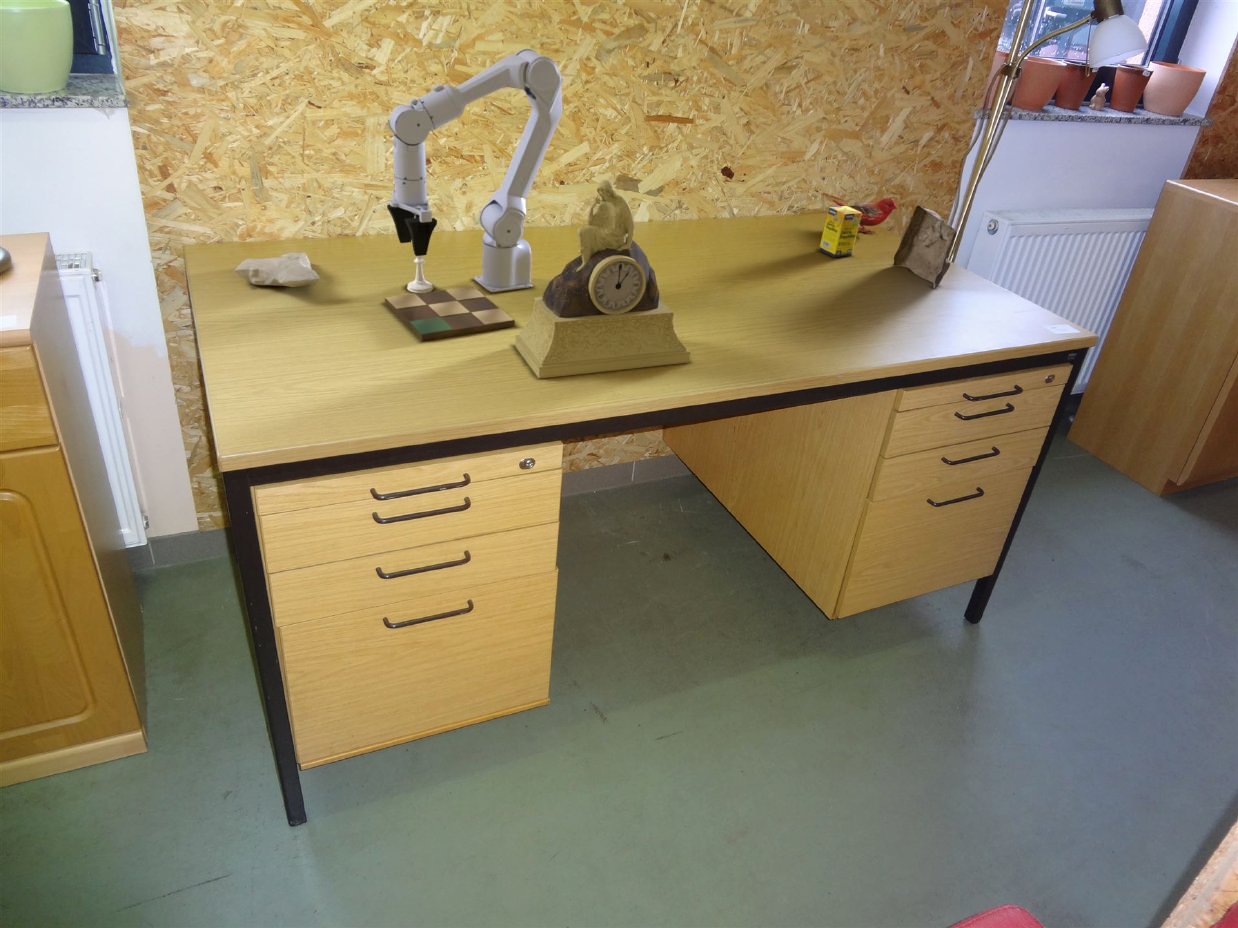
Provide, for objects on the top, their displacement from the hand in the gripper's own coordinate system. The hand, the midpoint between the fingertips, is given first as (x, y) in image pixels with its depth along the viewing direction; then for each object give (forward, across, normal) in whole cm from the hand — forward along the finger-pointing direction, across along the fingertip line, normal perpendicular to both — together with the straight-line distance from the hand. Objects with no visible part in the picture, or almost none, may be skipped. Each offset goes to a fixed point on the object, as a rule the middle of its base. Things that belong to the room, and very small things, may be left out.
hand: (412, 248), depth 165 cm
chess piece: (+9, 0, +1) cm, 9 cm away
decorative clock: (+9, +39, +19) cm, 44 cm away
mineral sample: (+9, +31, +114) cm, 119 cm away
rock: (+8, -12, -23) cm, 27 cm away
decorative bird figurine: (+9, -2, +128) cm, 128 cm away
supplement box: (+9, +11, +106) cm, 107 cm away
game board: (+8, +14, +1) cm, 16 cm away
